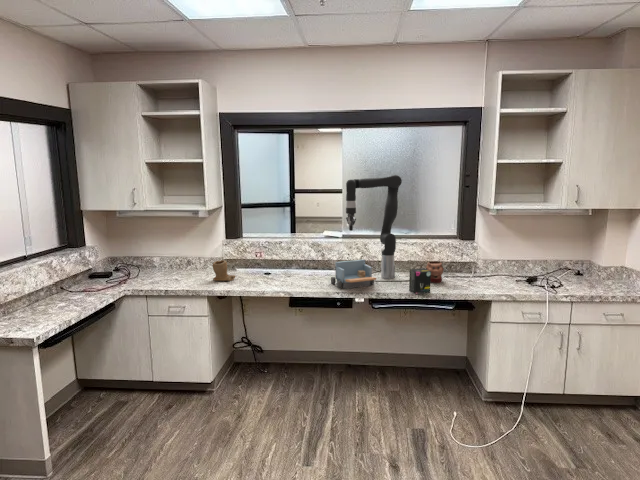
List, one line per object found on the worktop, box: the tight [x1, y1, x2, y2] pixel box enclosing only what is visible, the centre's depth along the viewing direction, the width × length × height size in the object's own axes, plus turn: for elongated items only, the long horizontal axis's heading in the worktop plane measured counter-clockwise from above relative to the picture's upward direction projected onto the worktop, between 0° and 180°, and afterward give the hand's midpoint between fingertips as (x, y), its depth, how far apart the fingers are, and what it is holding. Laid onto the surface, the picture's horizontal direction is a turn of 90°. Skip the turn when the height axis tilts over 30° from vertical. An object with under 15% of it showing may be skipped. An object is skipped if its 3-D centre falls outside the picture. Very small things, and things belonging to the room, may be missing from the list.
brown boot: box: [211, 259, 236, 282], centre depth 304 cm, size 15×12×15 cm
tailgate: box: [345, 276, 377, 282], centre depth 277 cm, size 19×2×9 cm
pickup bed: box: [330, 259, 375, 290], centre depth 290 cm, size 26×17×16 cm, turn 110°
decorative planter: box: [425, 260, 444, 284], centre depth 296 cm, size 20×12×14 cm, turn 177°
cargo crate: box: [358, 270, 365, 278], centre depth 287 cm, size 4×4×4 cm
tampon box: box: [408, 267, 432, 295], centre depth 270 cm, size 11×9×15 cm
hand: (350, 230), depth 306 cm, fingers closed
